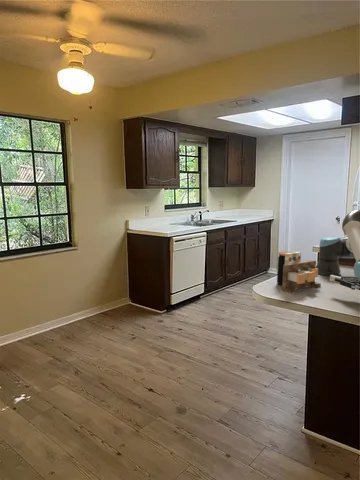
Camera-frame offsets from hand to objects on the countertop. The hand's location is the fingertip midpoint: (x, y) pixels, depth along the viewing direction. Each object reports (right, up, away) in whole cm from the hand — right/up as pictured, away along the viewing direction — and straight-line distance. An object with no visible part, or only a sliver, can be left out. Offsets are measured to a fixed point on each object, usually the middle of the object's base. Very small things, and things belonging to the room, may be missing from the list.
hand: (330, 277), depth 182 cm
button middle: (-10, -2, +7) cm, 13 cm away
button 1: (-17, -2, +3) cm, 18 cm away
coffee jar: (-17, -6, +19) cm, 26 cm away
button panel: (-12, -7, +10) cm, 17 cm away
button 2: (-6, -1, +15) cm, 16 cm away
